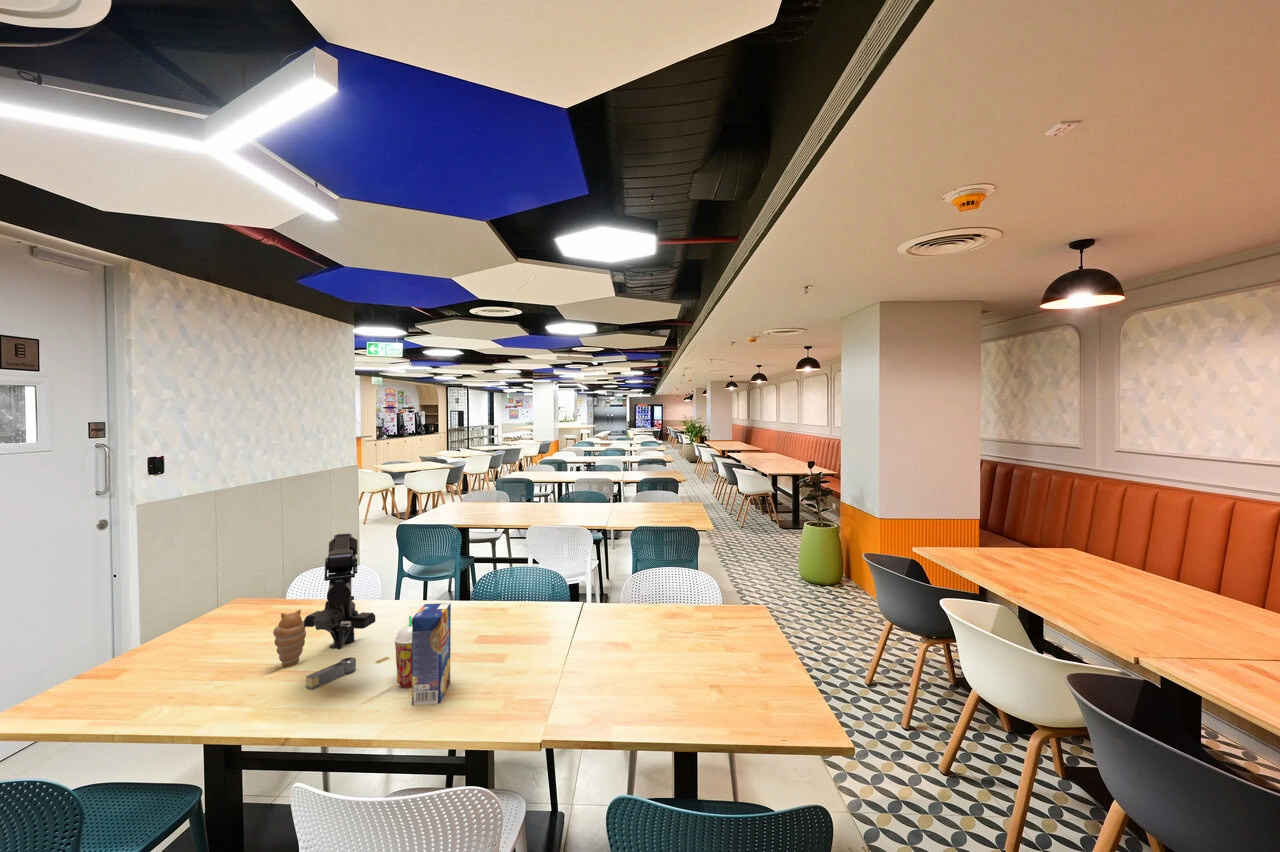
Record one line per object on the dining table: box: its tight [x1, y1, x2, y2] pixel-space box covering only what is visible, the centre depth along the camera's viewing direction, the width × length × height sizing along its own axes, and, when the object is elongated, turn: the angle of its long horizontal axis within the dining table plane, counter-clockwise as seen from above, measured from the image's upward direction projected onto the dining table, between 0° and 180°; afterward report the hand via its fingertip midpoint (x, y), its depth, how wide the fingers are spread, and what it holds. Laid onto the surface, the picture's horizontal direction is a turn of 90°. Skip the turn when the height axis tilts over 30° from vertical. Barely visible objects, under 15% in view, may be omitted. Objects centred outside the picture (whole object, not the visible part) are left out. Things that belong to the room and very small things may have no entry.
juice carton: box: [411, 602, 452, 706], centre depth 150 cm, size 12×8×24 cm, turn 7°
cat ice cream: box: [272, 609, 307, 669], centre depth 167 cm, size 9×8×18 cm
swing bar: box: [305, 656, 357, 691], centre depth 156 cm, size 14×4×3 cm, turn 155°
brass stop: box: [374, 656, 391, 664], centre depth 169 cm, size 2×4×1 cm, turn 155°
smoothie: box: [394, 615, 412, 689], centre depth 156 cm, size 8×8×20 cm
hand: (339, 648), depth 153 cm, fingers closed
